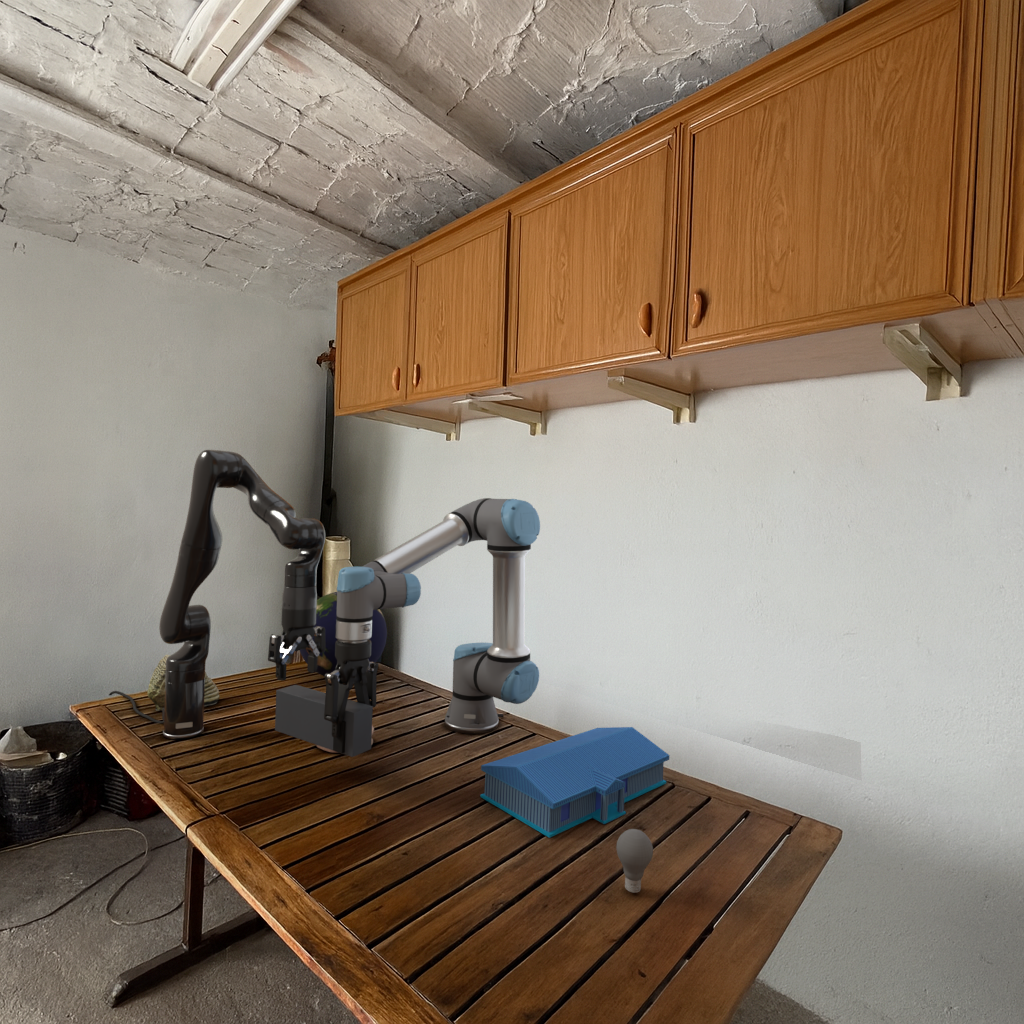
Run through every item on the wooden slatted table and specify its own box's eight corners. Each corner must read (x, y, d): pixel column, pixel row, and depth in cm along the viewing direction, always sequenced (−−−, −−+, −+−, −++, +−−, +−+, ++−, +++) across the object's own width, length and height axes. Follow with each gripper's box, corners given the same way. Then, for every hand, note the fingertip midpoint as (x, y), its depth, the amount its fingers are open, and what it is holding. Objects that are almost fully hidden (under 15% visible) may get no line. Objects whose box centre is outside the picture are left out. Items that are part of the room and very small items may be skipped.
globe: (276, 681, 212) (279, 592, 211) (333, 662, 239) (336, 583, 239) (350, 695, 201) (354, 601, 200) (401, 673, 228) (404, 590, 228)
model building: (561, 845, 119) (564, 792, 119) (478, 796, 137) (480, 750, 137) (678, 787, 145) (680, 744, 145) (596, 753, 163) (598, 714, 163)
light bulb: (610, 879, 108) (613, 822, 108) (644, 879, 109) (647, 822, 109) (619, 902, 102) (622, 840, 102) (655, 901, 103) (658, 840, 103)
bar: (274, 730, 145) (276, 690, 145) (294, 723, 149) (295, 684, 149) (352, 757, 132) (354, 712, 132) (371, 749, 137) (372, 706, 136)
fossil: (144, 707, 182) (145, 655, 182) (212, 696, 194) (213, 647, 194) (151, 716, 175) (153, 662, 175) (221, 703, 188) (223, 653, 188)
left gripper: (284, 611, 137) (281, 686, 137) (334, 603, 149) (332, 672, 149) (262, 607, 141) (259, 679, 141) (312, 600, 153) (310, 666, 153)
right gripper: (332, 650, 126) (328, 765, 126) (396, 635, 142) (392, 737, 142) (307, 644, 130) (303, 756, 130) (371, 630, 146) (367, 730, 146)
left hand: (296, 675), depth 145 cm, fingers open, 8 cm apart
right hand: (349, 746), depth 136 cm, fingers closed on bar, 5 cm apart
